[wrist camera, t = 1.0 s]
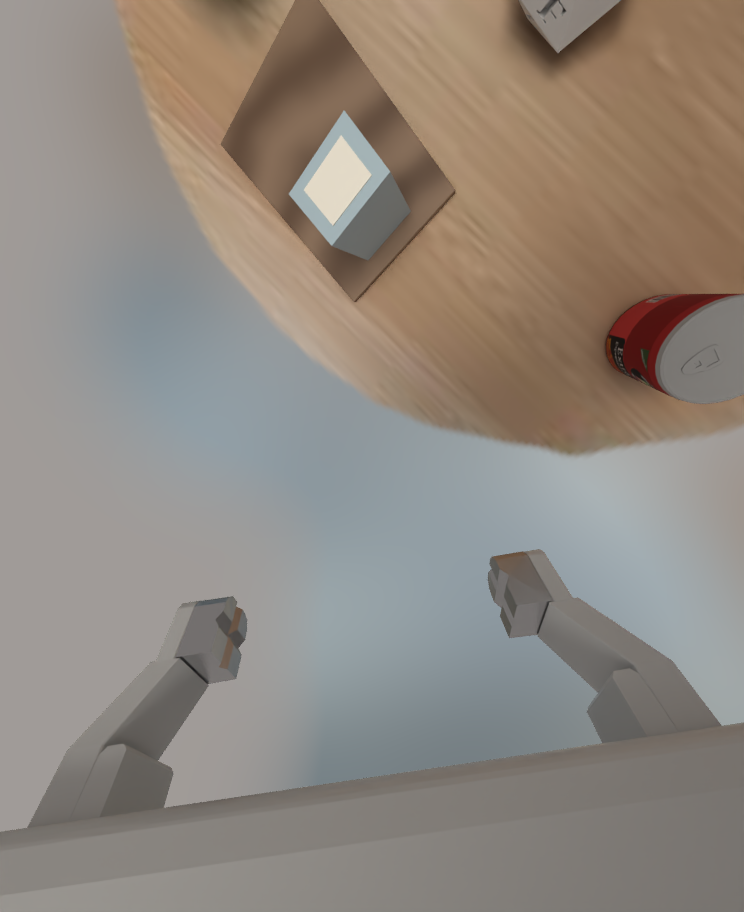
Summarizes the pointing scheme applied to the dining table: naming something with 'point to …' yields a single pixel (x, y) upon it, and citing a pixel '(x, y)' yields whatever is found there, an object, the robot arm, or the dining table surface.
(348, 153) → the light blue box
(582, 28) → the die
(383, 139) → the board
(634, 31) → the dining table surface
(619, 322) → the canned food
